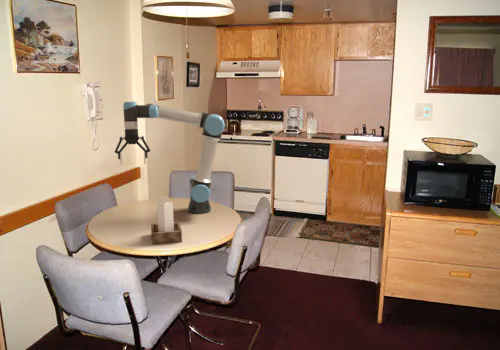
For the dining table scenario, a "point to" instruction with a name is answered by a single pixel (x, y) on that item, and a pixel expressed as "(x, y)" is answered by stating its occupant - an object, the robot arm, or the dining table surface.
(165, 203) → the milk
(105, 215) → the dining table surface
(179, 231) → the box
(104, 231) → the dining table surface
